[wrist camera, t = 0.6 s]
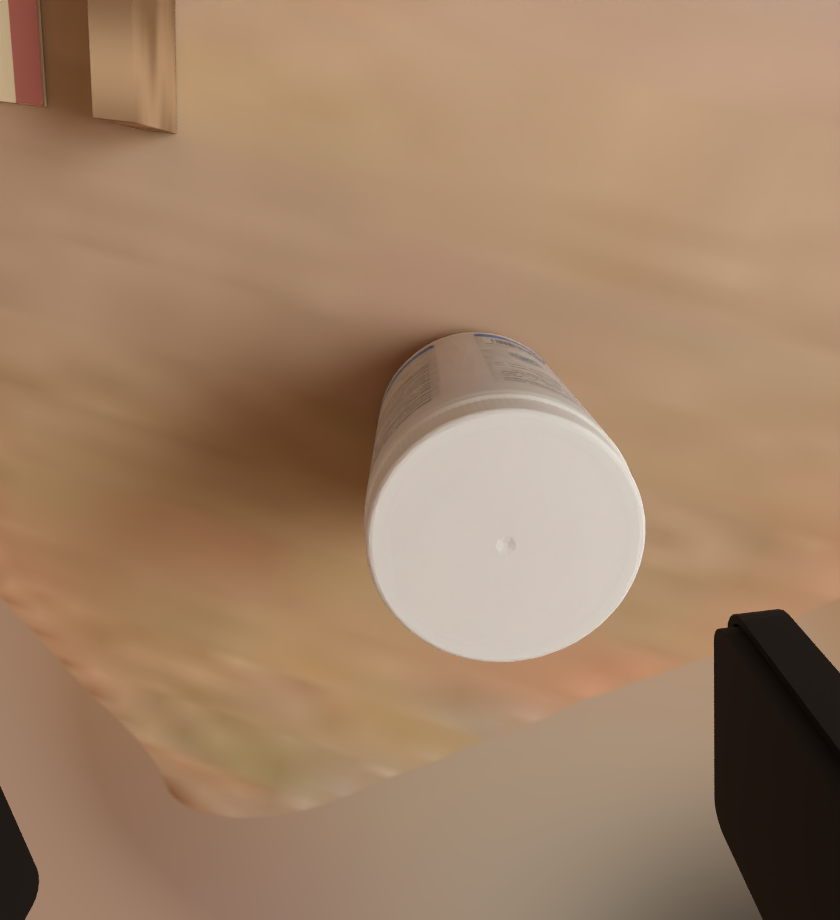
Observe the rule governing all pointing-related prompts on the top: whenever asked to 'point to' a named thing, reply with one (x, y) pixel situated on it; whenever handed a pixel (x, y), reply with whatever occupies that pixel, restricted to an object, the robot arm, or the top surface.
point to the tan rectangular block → (133, 62)
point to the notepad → (21, 53)
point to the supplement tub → (496, 504)
